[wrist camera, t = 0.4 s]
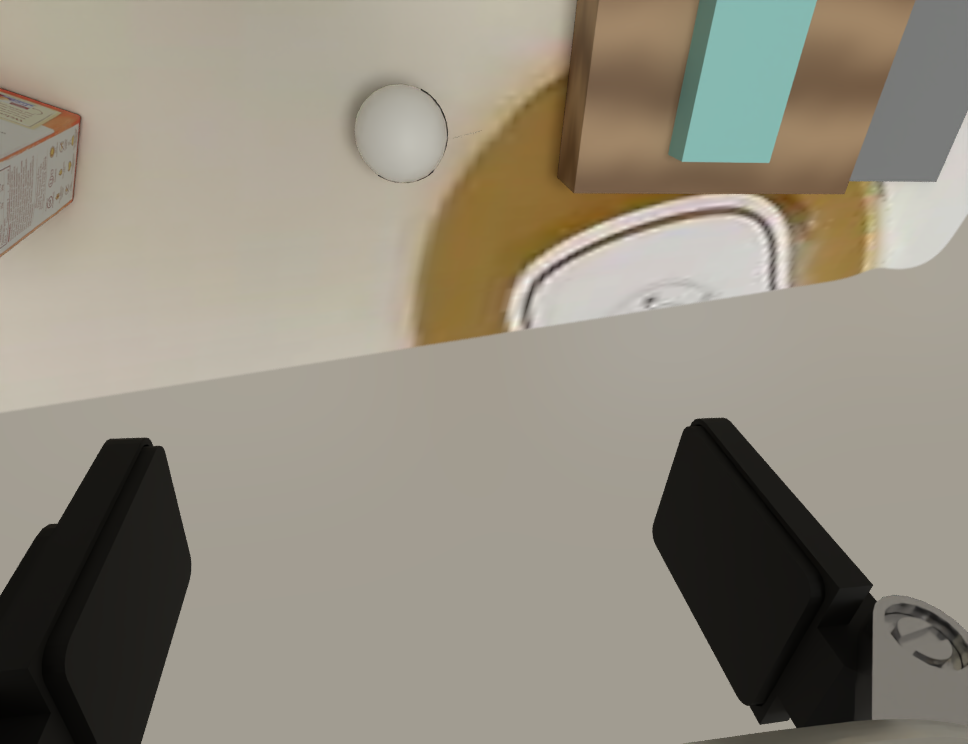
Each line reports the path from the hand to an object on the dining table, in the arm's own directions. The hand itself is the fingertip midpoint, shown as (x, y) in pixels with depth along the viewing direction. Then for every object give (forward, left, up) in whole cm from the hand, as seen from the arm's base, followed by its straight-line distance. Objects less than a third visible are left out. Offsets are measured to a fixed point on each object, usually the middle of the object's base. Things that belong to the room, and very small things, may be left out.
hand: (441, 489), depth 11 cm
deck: (-4, +22, -33) cm, 40 cm away
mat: (-4, +38, -33) cm, 51 cm away
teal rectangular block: (-4, +21, -29) cm, 36 cm away
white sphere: (0, +2, -34) cm, 34 cm away
